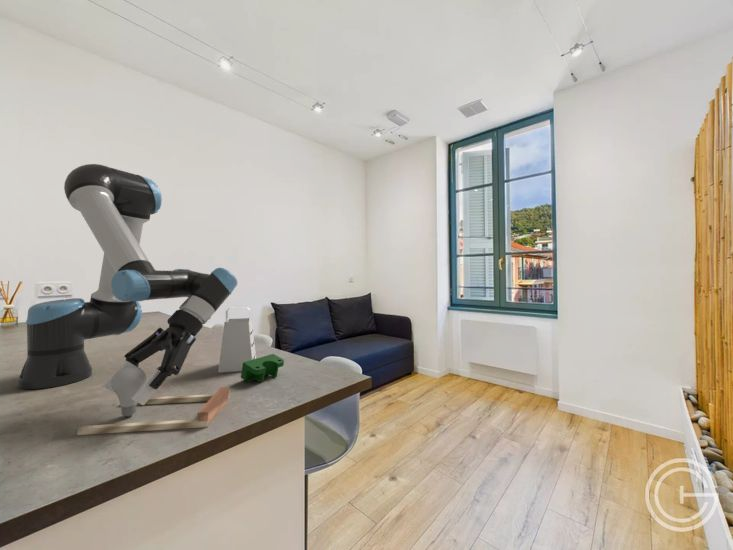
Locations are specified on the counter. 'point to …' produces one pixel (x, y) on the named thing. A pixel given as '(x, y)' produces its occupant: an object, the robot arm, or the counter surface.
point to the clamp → (261, 367)
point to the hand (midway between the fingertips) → (121, 395)
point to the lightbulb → (128, 387)
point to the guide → (203, 420)
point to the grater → (237, 343)
